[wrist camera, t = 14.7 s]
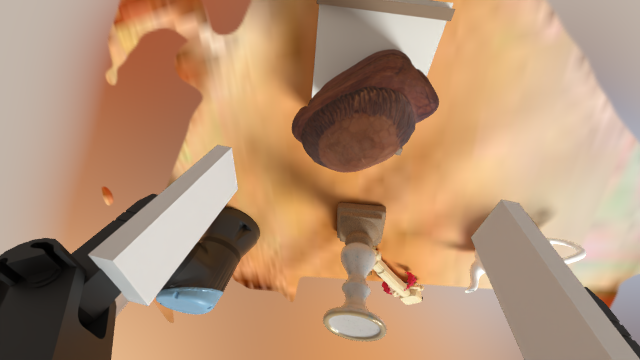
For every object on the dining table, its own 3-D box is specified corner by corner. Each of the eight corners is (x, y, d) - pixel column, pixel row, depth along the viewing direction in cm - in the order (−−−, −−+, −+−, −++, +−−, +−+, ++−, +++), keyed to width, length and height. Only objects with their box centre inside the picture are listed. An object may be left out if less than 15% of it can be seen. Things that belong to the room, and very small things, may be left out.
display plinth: (318, 117, 42) (306, 140, 34) (331, -8, 31) (318, -15, 23) (394, 131, 40) (399, 158, 33) (436, 5, 30) (457, 2, 22)
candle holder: (338, 201, 53) (318, 306, 34) (386, 206, 51) (394, 319, 32) (337, 232, 59) (321, 335, 40) (380, 237, 57) (384, 347, 39)
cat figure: (351, 248, 64) (402, 297, 71) (347, 275, 57) (404, 327, 64) (381, 236, 59) (432, 290, 65) (380, 263, 52) (438, 321, 58)
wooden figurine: (336, 123, 33) (309, 205, 19) (314, 82, 30) (264, 143, 16) (420, 84, 28) (468, 156, 14) (403, 31, 25) (442, 54, 11)
